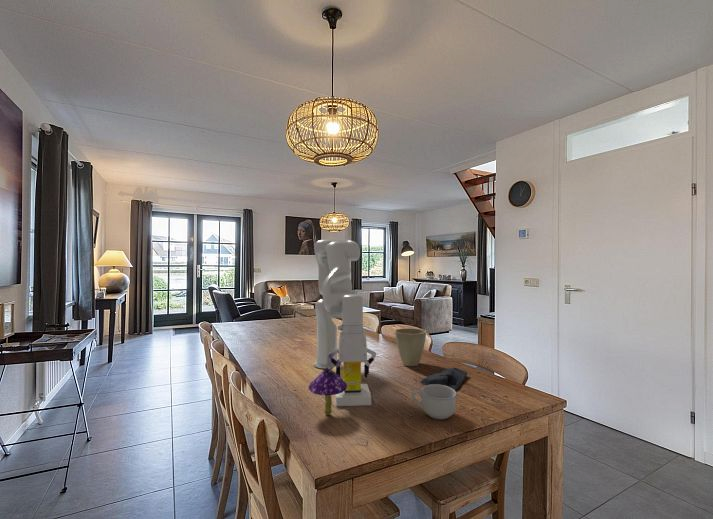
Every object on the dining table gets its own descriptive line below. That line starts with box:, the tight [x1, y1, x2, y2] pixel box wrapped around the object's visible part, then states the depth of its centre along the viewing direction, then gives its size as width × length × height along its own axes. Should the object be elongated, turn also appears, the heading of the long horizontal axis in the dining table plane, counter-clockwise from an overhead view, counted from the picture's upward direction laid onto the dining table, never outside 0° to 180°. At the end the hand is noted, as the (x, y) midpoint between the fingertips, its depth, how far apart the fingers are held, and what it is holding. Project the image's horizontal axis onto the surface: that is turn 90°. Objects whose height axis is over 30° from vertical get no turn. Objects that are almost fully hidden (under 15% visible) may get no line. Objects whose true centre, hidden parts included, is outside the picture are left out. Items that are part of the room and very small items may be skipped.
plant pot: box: [394, 327, 427, 367], centre depth 163 cm, size 15×15×16 cm
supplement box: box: [342, 362, 362, 393], centre depth 121 cm, size 6×6×11 cm
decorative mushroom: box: [308, 367, 347, 416], centre depth 109 cm, size 12×12×15 cm
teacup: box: [410, 384, 457, 420], centre depth 109 cm, size 14×11×8 cm
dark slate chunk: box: [420, 367, 468, 391], centre depth 140 cm, size 15×22×5 cm
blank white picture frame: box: [334, 383, 372, 407], centre depth 121 cm, size 12×12×3 cm
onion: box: [331, 364, 343, 380], centre depth 139 cm, size 8×8×7 cm
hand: (352, 376), depth 121 cm, fingers open, 9 cm apart
